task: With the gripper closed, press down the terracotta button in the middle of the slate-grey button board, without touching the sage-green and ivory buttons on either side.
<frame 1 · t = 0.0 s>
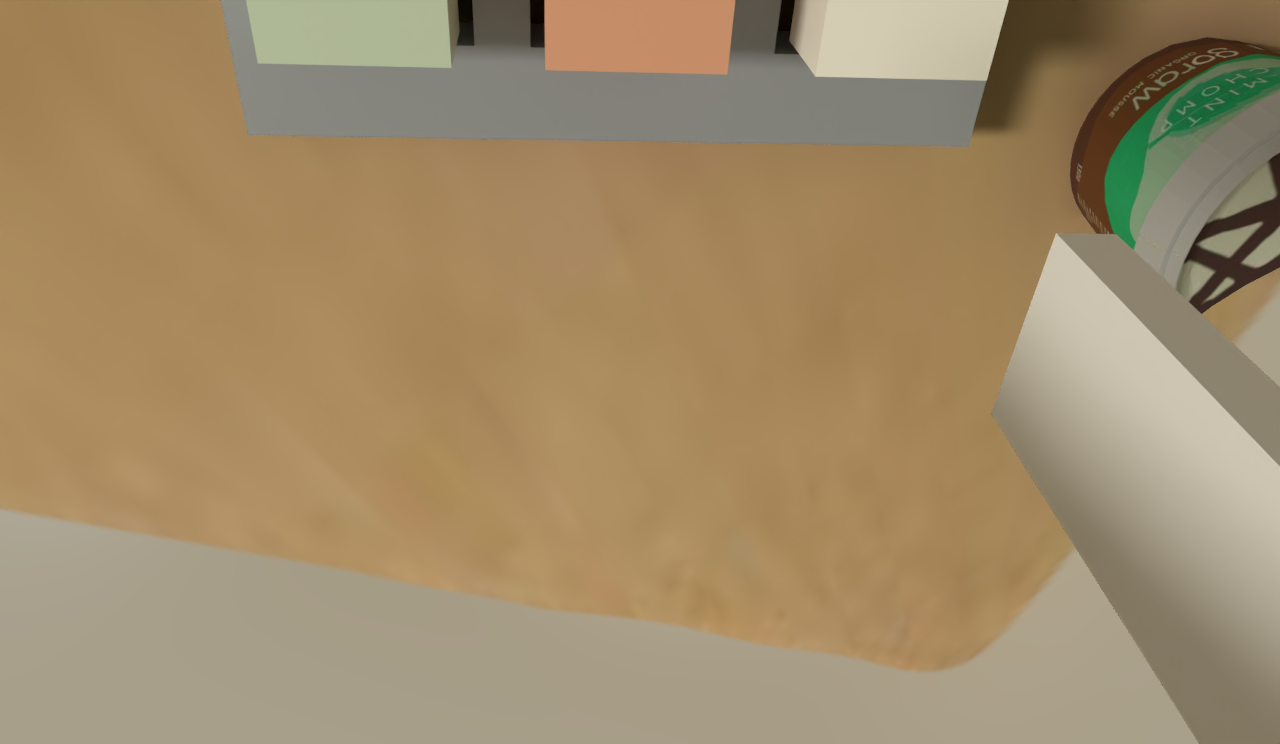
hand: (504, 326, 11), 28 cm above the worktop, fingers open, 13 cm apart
food container: (1144, 98, 41), on the worktop
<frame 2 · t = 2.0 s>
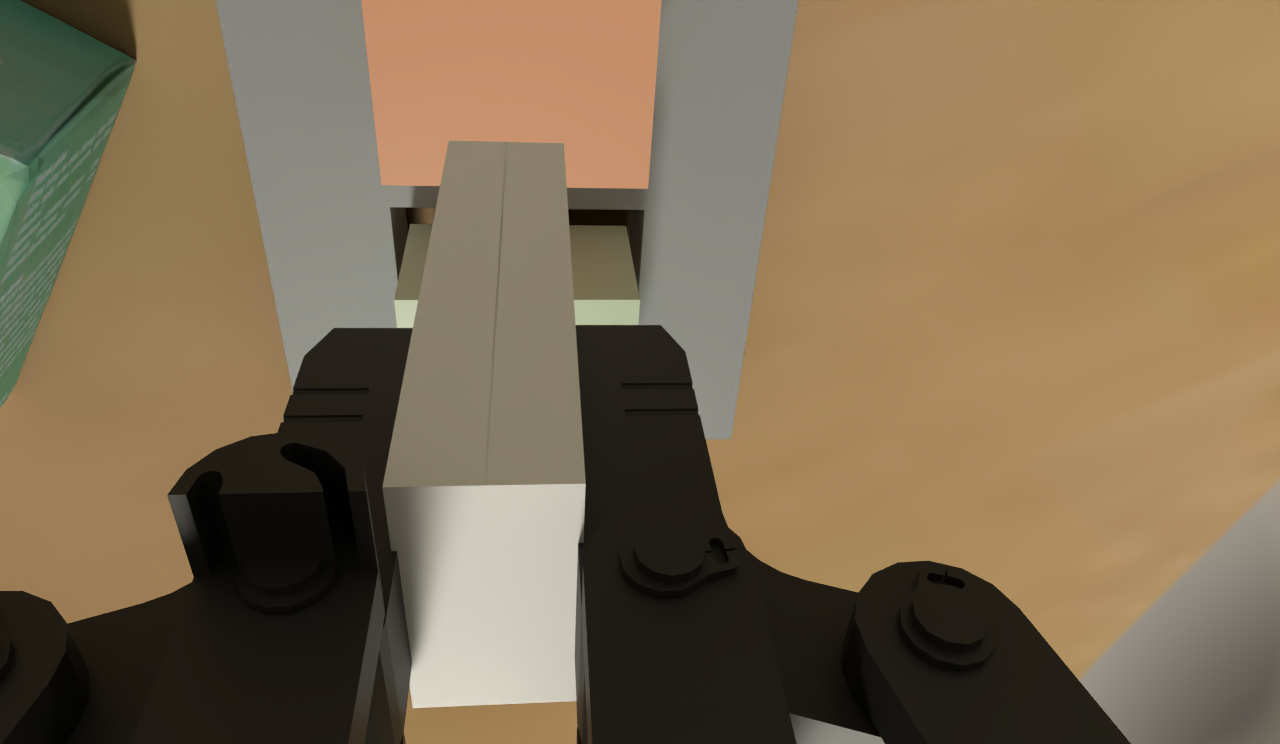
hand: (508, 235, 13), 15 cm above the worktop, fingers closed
terracotta button: (515, 25, 21), point 5 cm above the worktop, slide at 0.0 cm
sage button: (520, 353, 26), point 5 cm above the worktop, slide at 0.0 cm
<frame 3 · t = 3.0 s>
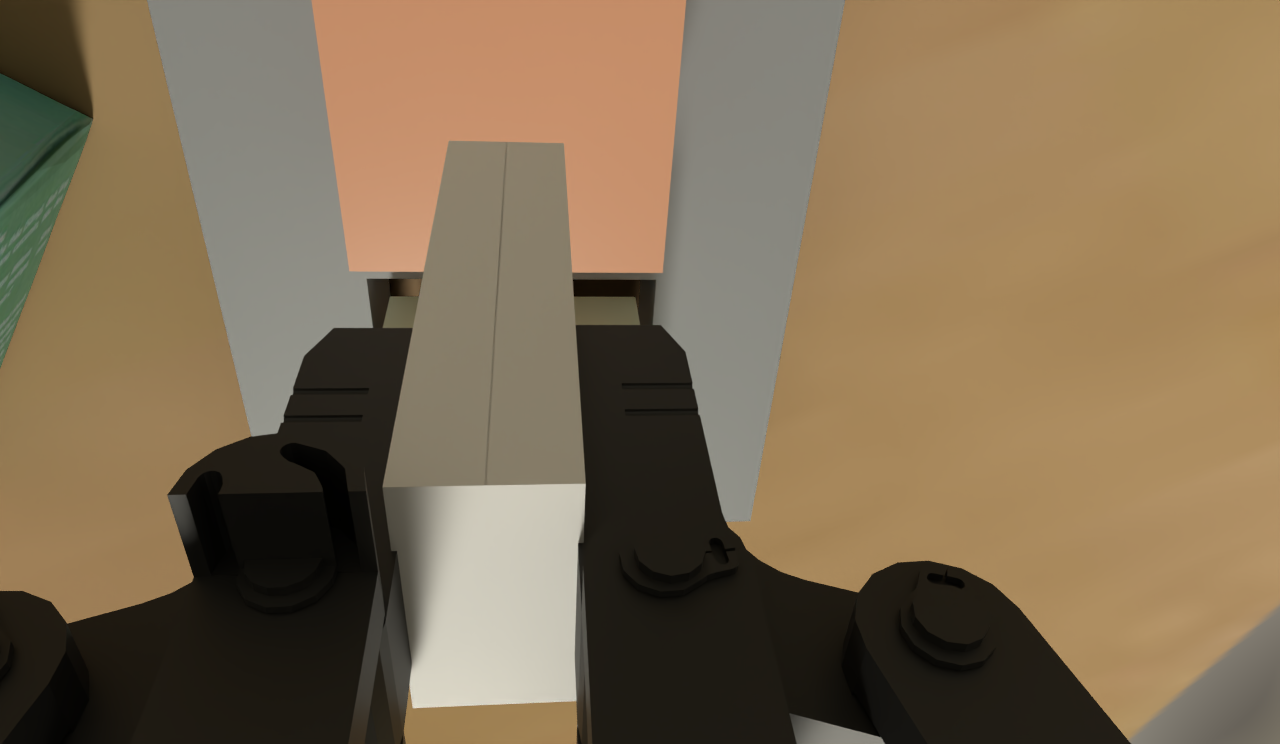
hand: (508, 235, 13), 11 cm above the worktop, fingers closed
button board: (511, 11, 22), on the worktop
terracotta button: (507, 83, 18), point 5 cm above the worktop, slide at 0.0 cm
sage button: (515, 442, 23), point 5 cm above the worktop, slide at 0.0 cm
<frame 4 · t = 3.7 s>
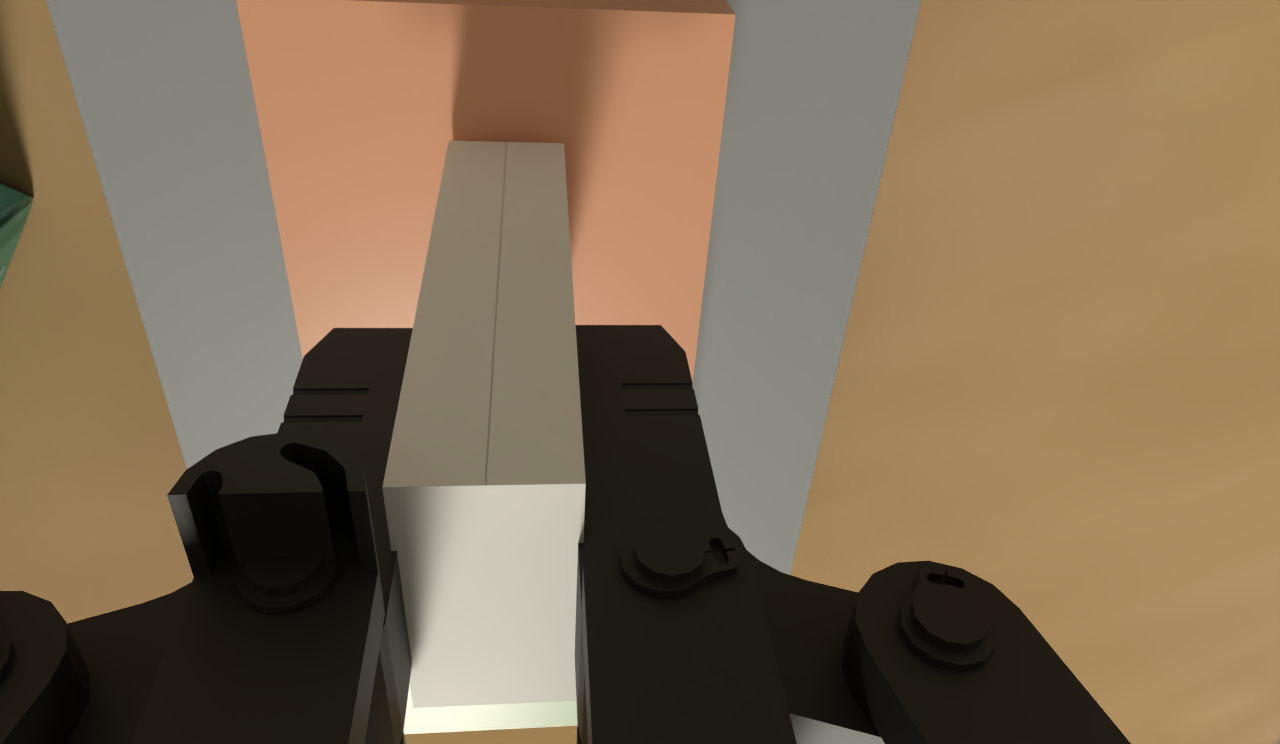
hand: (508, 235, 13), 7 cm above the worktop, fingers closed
button board: (508, 66, 19), on the worktop
terracotta button: (503, 168, 15), point 5 cm above the worktop, slide at 0.0 cm, touching gripper
sage button: (513, 563, 20), point 5 cm above the worktop, slide at 0.0 cm
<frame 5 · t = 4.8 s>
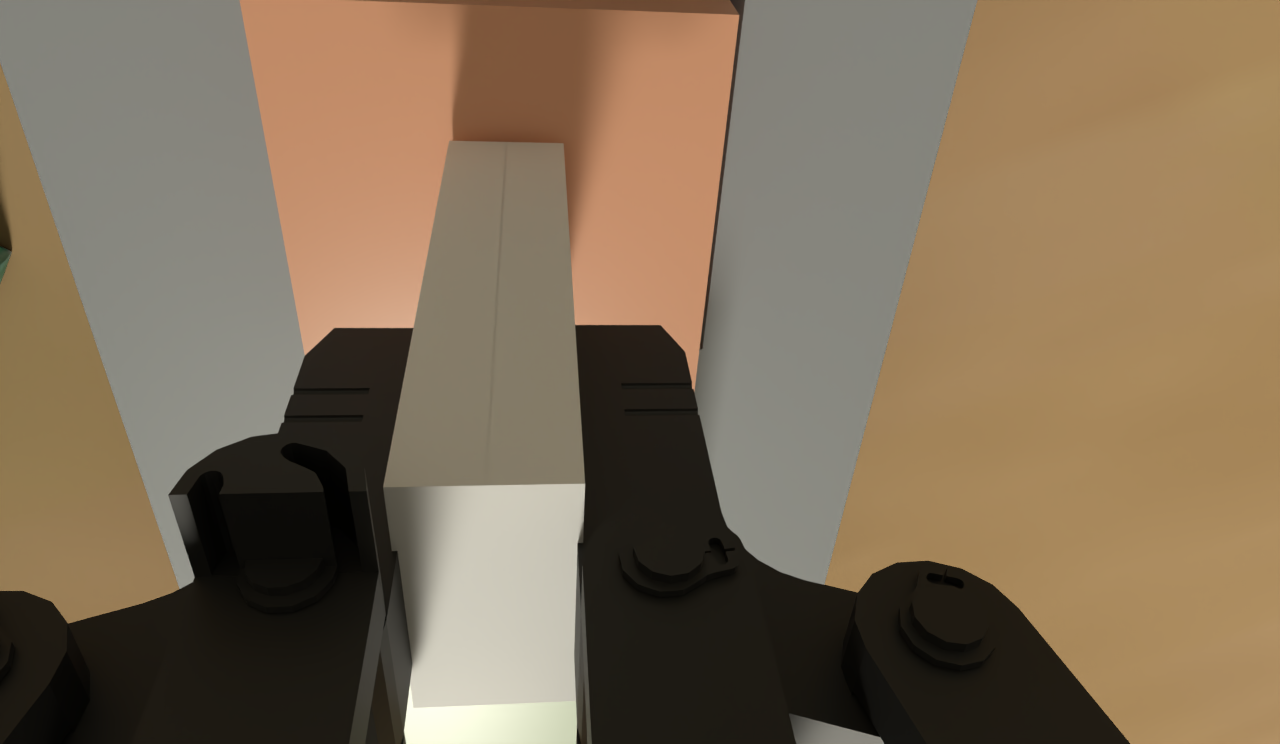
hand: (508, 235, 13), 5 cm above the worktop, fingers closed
button board: (509, 100, 17), on the worktop
terracotta button: (505, 169, 15), point 3 cm above the worktop, slide at 1.9 cm, touching gripper
sage button: (514, 637, 18), point 5 cm above the worktop, slide at 0.0 cm
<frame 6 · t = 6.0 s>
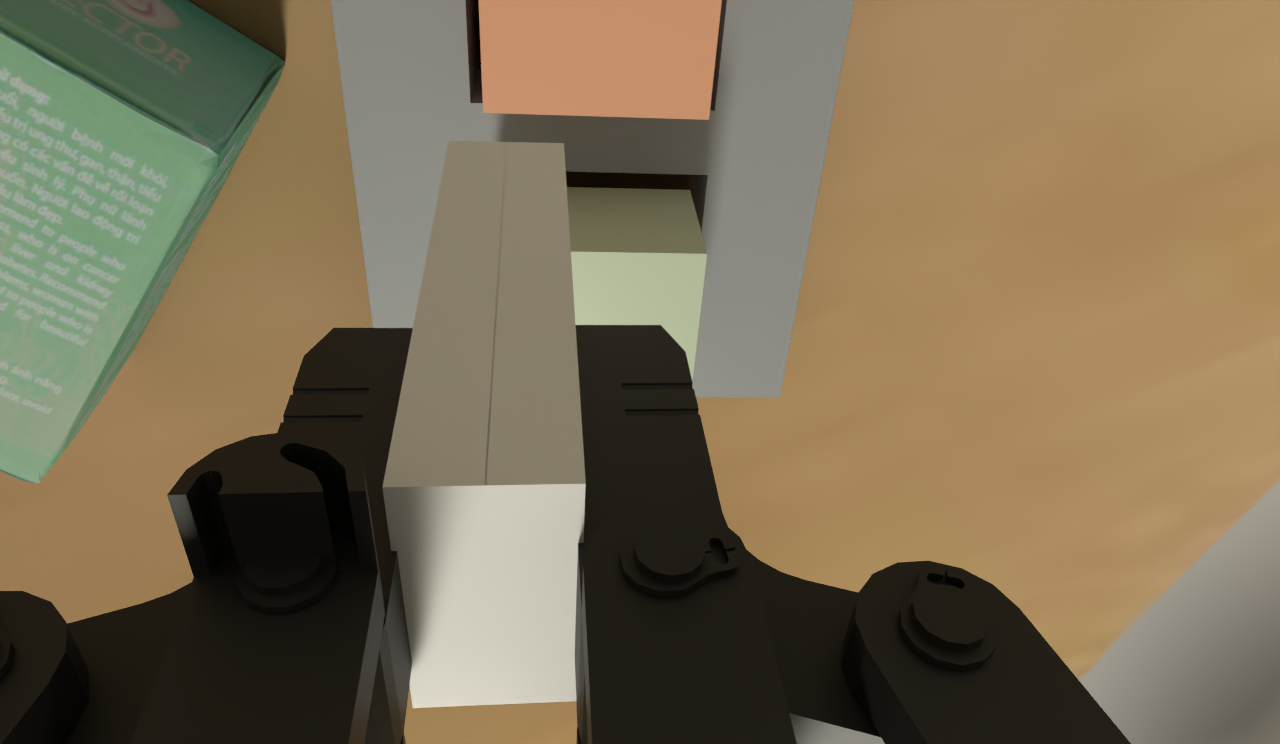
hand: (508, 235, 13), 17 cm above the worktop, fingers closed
sage button: (590, 307, 28), point 5 cm above the worktop, slide at 0.0 cm
box: (98, 152, 30), on the worktop
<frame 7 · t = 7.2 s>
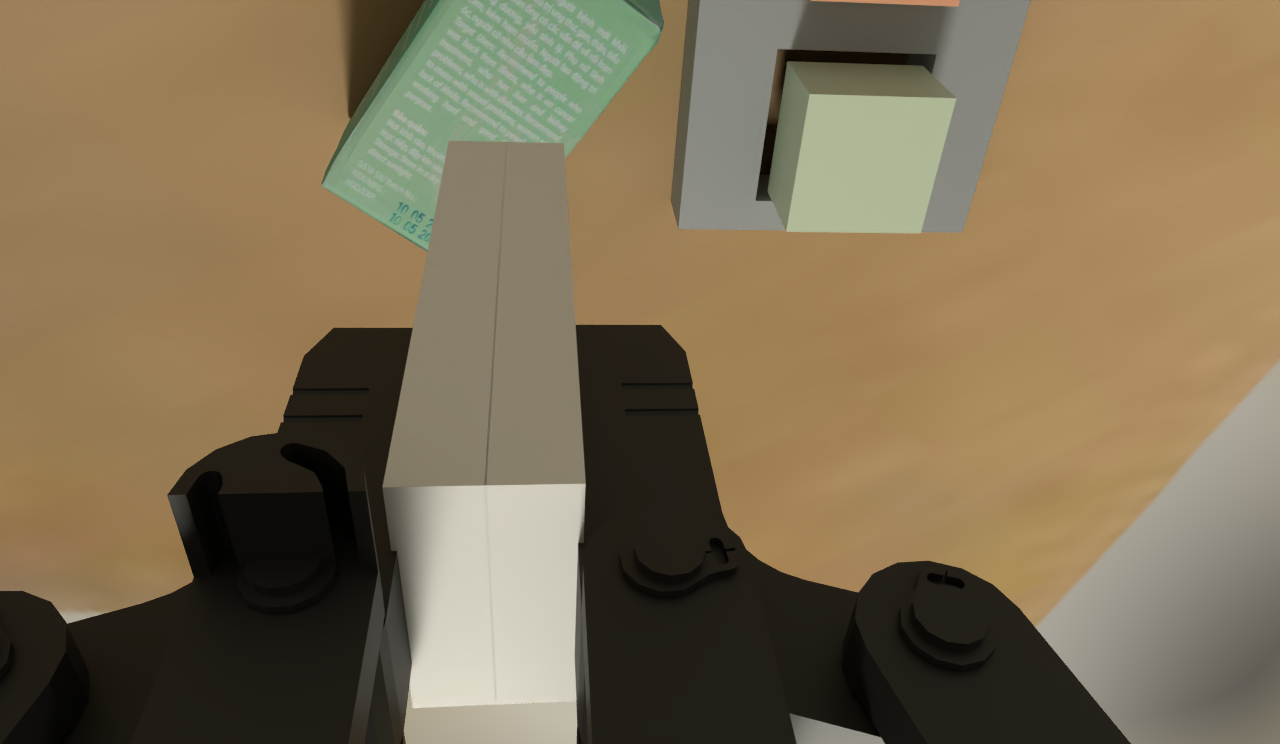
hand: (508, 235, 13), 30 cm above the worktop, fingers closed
sage button: (854, 148, 40), point 5 cm above the worktop, slide at 0.0 cm
box: (496, 48, 41), on the worktop
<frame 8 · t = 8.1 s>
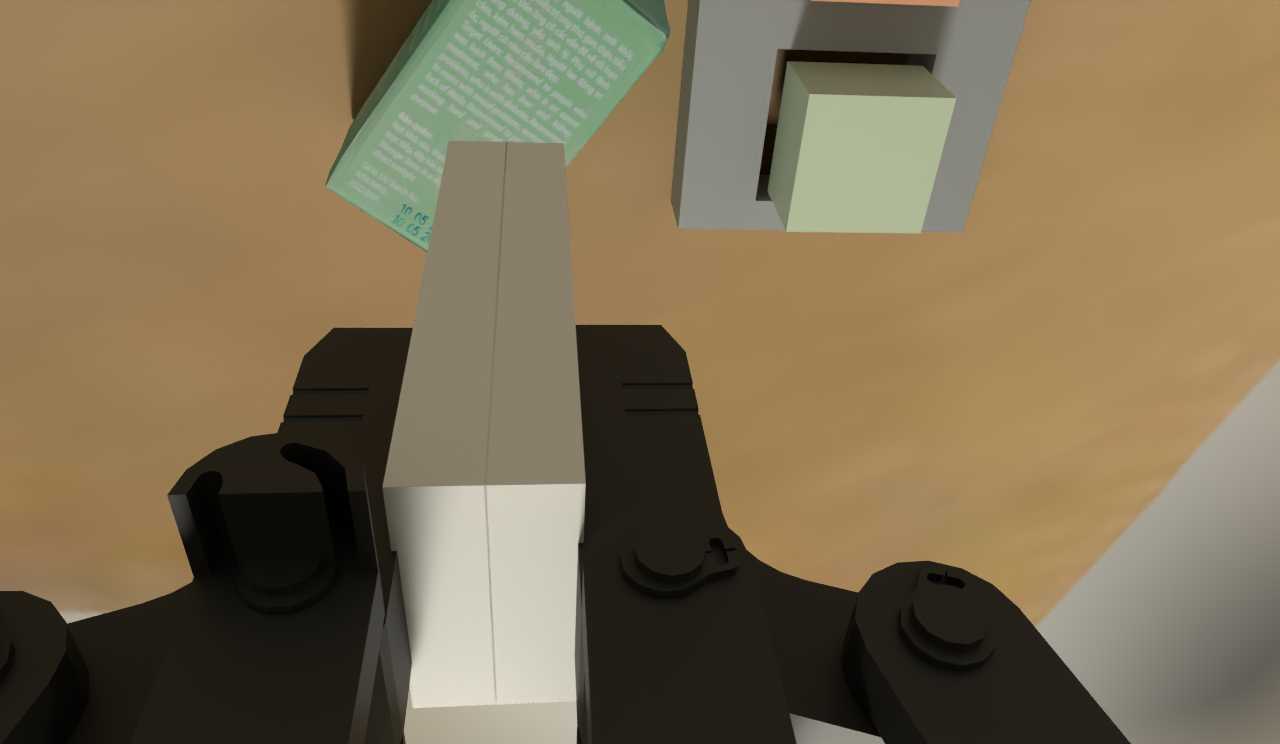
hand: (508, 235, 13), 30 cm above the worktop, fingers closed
sage button: (854, 148, 40), point 5 cm above the worktop, slide at 0.0 cm
box: (500, 52, 42), on the worktop
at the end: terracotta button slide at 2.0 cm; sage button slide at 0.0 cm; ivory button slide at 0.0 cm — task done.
